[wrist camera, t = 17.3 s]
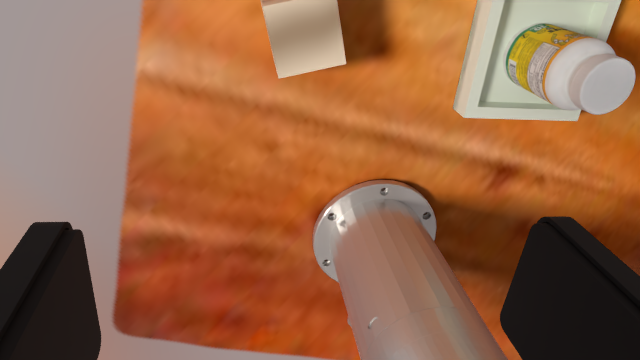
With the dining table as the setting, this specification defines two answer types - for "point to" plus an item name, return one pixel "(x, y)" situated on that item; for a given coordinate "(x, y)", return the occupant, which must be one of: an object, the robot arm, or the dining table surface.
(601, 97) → the supplement bottle
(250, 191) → the dining table surface
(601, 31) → the tray
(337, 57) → the beech block
